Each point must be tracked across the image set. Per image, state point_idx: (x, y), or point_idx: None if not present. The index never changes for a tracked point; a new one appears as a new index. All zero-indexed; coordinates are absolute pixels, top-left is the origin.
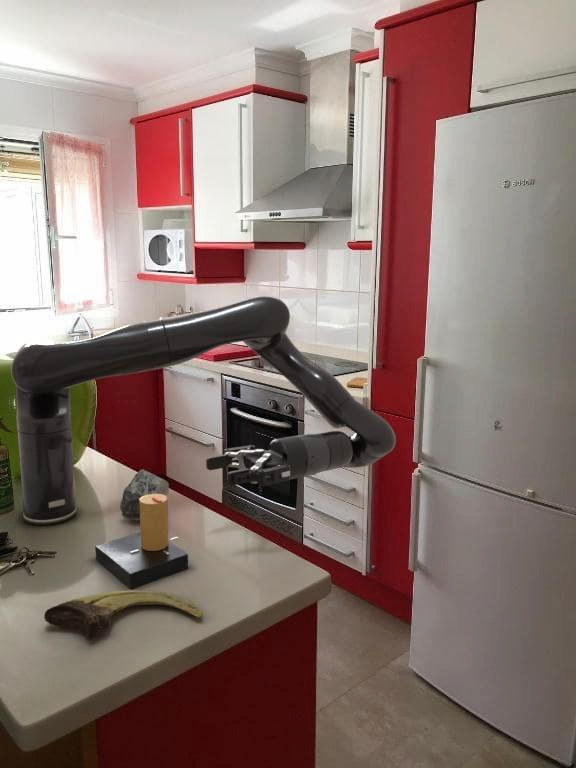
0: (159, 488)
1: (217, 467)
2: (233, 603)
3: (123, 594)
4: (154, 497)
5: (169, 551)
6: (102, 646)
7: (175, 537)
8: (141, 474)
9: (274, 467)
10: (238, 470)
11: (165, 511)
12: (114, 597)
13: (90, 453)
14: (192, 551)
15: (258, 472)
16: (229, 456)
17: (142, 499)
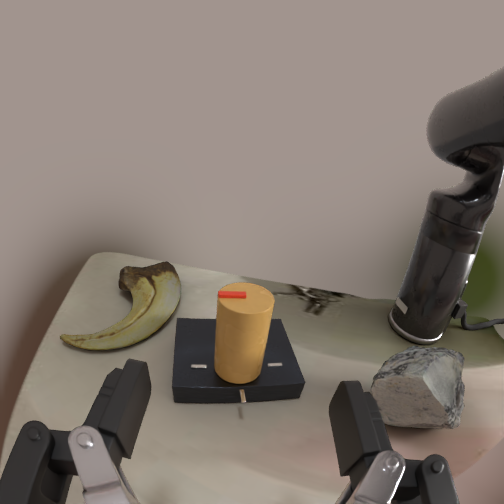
0: (404, 384)
1: (336, 436)
2: (54, 383)
3: (149, 305)
4: (242, 293)
5: (200, 372)
6: (114, 289)
7: (243, 397)
8: (439, 351)
9: (20, 500)
10: (126, 391)
11: (220, 322)
12: (147, 295)
13: None
14: (228, 436)
15: (64, 447)
16: (366, 468)
17: (253, 286)
